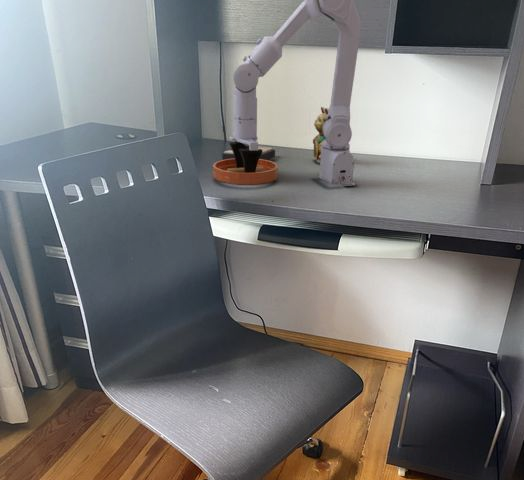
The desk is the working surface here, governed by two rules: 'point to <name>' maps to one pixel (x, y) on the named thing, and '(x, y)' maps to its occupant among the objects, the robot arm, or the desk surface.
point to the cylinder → (241, 170)
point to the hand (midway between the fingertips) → (245, 173)
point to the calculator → (266, 151)
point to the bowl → (245, 173)
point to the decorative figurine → (320, 137)
